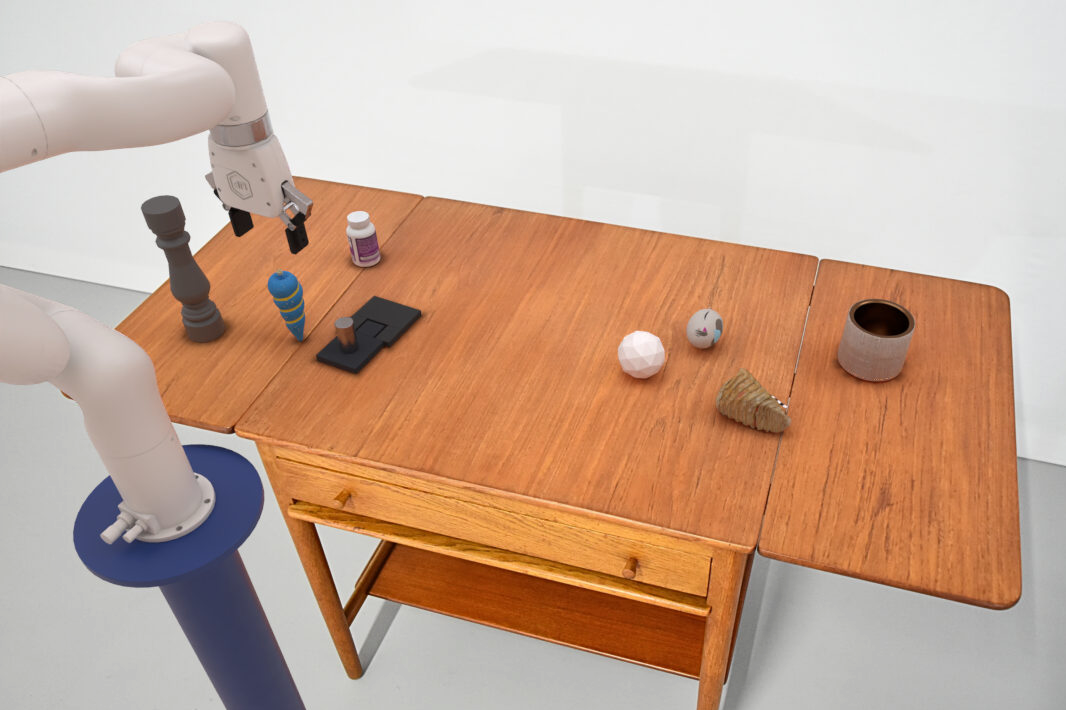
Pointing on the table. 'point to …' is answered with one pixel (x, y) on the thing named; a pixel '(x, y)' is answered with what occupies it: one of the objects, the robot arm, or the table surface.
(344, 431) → the table surface
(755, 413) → the fossil
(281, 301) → the ornament
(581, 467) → the table surface
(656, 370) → the geometric ball
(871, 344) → the planter
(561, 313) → the table surface
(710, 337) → the figurine
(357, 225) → the pill bottle
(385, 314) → the notch pad
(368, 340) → the tab pad
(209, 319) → the candle holder
